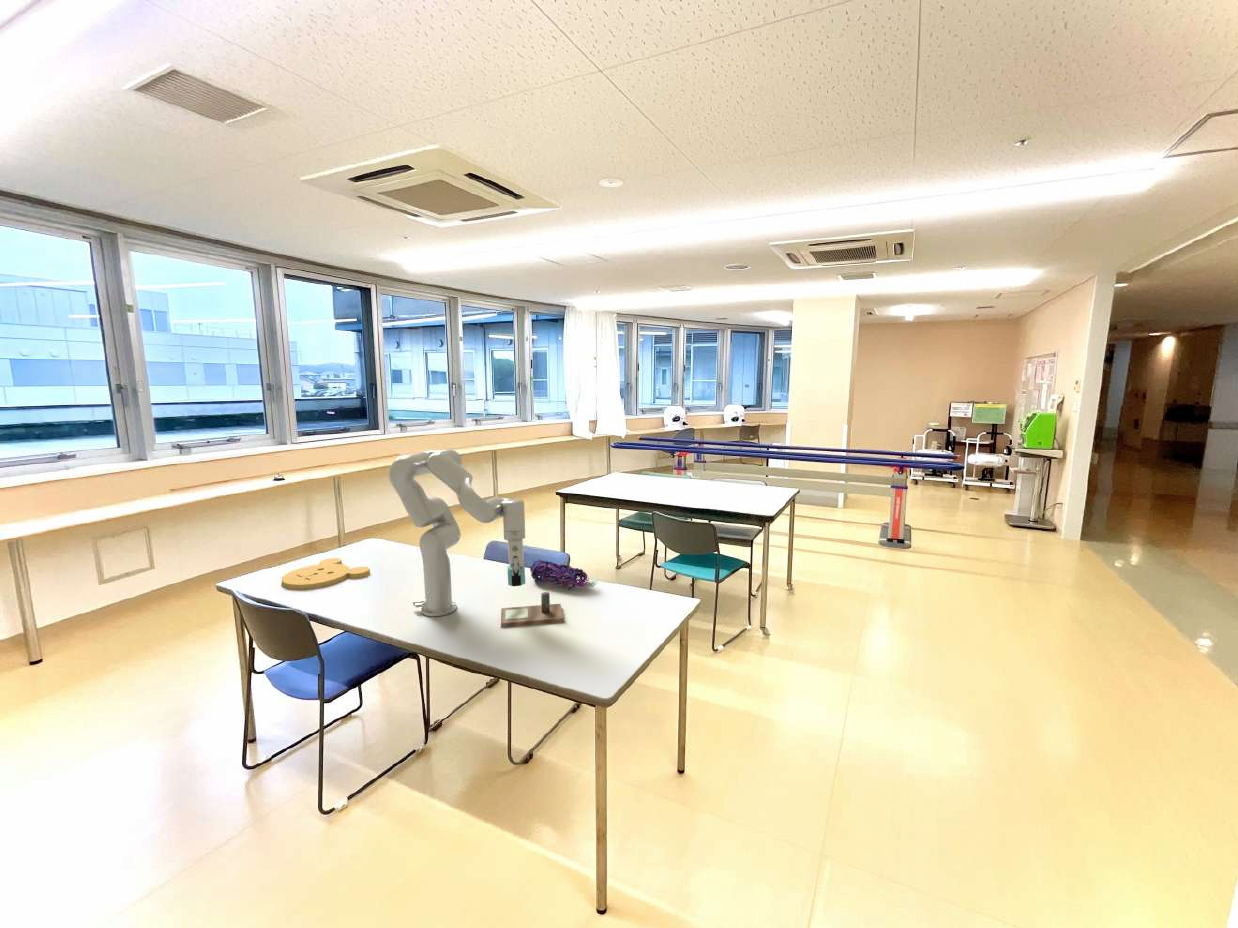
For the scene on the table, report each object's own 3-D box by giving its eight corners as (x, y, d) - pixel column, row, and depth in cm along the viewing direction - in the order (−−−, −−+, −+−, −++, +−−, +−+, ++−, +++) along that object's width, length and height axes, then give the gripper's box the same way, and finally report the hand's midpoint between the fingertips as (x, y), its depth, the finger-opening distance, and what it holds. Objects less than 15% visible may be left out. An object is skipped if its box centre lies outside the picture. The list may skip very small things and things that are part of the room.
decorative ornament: (546, 558, 239) (603, 568, 224) (543, 582, 238) (600, 594, 222) (527, 558, 227) (586, 569, 212) (523, 583, 226) (582, 596, 211)
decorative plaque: (305, 596, 215) (374, 574, 240) (305, 590, 214) (373, 569, 239) (267, 581, 231) (335, 562, 256) (266, 575, 231) (334, 556, 256)
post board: (500, 627, 187) (500, 604, 186) (501, 611, 200) (500, 590, 198) (563, 622, 192) (563, 599, 190) (560, 607, 204) (560, 586, 203)
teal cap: (525, 585, 190) (524, 568, 189) (508, 586, 189) (507, 570, 188) (525, 579, 196) (524, 563, 195) (508, 580, 195) (507, 564, 194)
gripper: (526, 539, 182) (527, 590, 185) (524, 526, 199) (526, 573, 202) (503, 541, 181) (505, 592, 183) (503, 528, 197) (505, 575, 200)
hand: (516, 581), depth 192 cm, fingers closed on teal cap, 6 cm apart
